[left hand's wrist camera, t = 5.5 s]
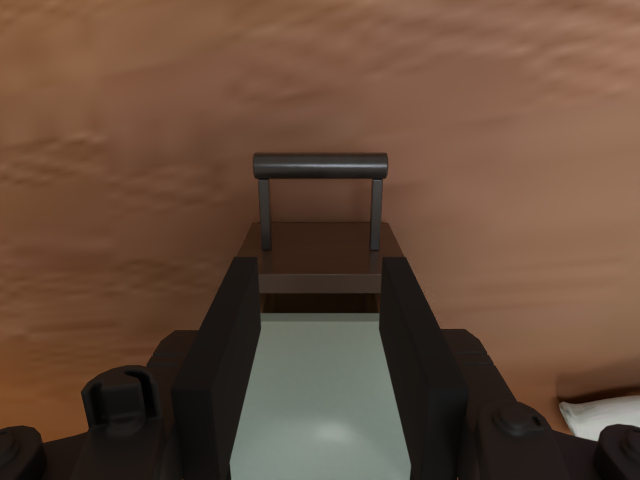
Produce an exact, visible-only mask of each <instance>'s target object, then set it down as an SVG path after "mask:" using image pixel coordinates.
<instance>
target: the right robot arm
mask: <svg viewBox="0 0 640 480" xmlns="http://www.w3.org/2000/svg"><path fill="white" fill-rule="evenodd" d="M226 480H231V471H230V463H229V467H228V472H227V476H226ZM410 480H414V476H413V472H412V467H411V471H410Z"/></svg>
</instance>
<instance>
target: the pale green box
mask: <svg viewBox="0 0 640 480" xmlns="http://www.w3.org/2000/svg"><path fill="white" fill-rule="evenodd" d="M260 315H261V332H260V336H259V340H258V345H257V349H256V353H255V357H254V362H253V366H252V370H251V374H250V379H249V383H248V387H247V391H246V395H245V400H244V404H243V408H242V412H241V417H240V421H239V425H238V429H237V434H236V438H235V442H234V446H233V450H232V455H231V459H230V471H231V480H410V471H411V463H410V459H409V455H408V450H407V446H406V442H405V438H404V434H403V429H402V425H401V421H400V417H399V412H398V408H397V404H396V400H395V395H394V391H393V387H392V383H391V379H390V374H389V370H388V366H387V362H386V357H385V353H384V349H383V345H382V341H381V336H380V332H379V315H380V313H260Z"/></svg>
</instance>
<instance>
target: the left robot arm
mask: <svg viewBox="0 0 640 480" xmlns="http://www.w3.org/2000/svg"><path fill="white" fill-rule="evenodd" d="M260 332H261V315H260V296H259V277H258V259H257V257H234V259H233V261H232V263H231V265H230V267H229V269H228V271H227V273H226V275H225V277H224V279H223V282H222V284H221V286H220V288H219V290H218V292H217V294H216V296H215V298H214V300H213V302H212V304H211V306H210V308H209V310H208V312H207V315H206V317H205V319H204V321H203V323H202V325H201V327H200V329H199V330H175V331H174V332H172V333H171V334H170V335H168V336H167V337H166V338H164V339H163V340H162V341H161V342H160V344H159V345H158V347H157V348H156V350H155V352H154V353H153V356H152V357H151V358H150V360H149V362H148V363H147V367H144V366H141V365H127V366H122V367H118V368H113V369H111V370H108V371H106V372H104V373H101V374H99V375H98V376H96V377H95V378H94V379H92V380H91V381H89V382H88V383H87V384H86V386H85V387H84V388H83V390H82V391H81V395H82V399H83V404H84V408H85V412H86V417H87V421H88V425H89V430H88V432H85V433H82V434H79V435H75V436H72V437H67V438H63V439H59V440H54V441H50V442H46V443H43V442H42V438H41V435H40V433H39V432H38V431H37V430H36V429H35V428H32V427H27V426H14V427H7V428H4V429H1V430H0V480H182V479H183V480H226V476H227V472H228V467H229V463H230V459H231V455H232V450H233V446H234V442H235V438H236V434H237V429H238V425H239V421H240V417H241V412H242V408H243V404H244V400H245V395H246V391H247V387H248V383H249V379H250V374H251V370H252V366H253V362H254V357H255V353H256V349H257V345H258V340H259V336H260ZM379 332H380V336H381V341H382V345H383V349H384V353H385V357H386V362H387V366H388V370H389V374H390V379H391V383H392V387H393V391H394V395H395V400H396V404H397V408H398V412H399V417H400V421H401V425H402V429H403V434H404V438H405V442H406V446H407V450H408V455H409V459H410V463H411V467H412V472H413V476H414V480H457V477H458V480H640V427H636V426H633V425H625V424H614V425H609V426H606V427H605V428H604V429H603V430H602V431H601V432H600V435H599V438H598V441H594V440H589V439H585V438H581V437H576V436H572V435H568V434H564V433H561V432H557V431H554V430H552V429H551V427H550V425H549V424H548V422H547V421H546V419H545V418H544V417H543V416H542V415H541V414H540V413H538V412H537V411H536V410H535V409H533V408H531V407H529V406H527V405H525V404H523V403H521V402H517V400H516V399H515V397H514V396H513V394H512V392H511V391H510V389H509V387H508V386H507V384H506V383H505V381H504V379H503V378H502V376H501V374H500V373H499V371H498V369H497V368H496V366H494V365H493V361H492V360H491V358H490V356H489V355H487V352H486V350H485V348H484V347H483V345H482V343H481V342H480V340H479V339H478V338H476V337H475V336H474V335H472V334H471V333H470V332H468V331H467V330H466V329H440V327H439V325H438V323H437V321H436V319H435V317H434V315H433V313H432V310H431V308H430V306H429V304H428V302H427V300H426V298H425V296H424V294H423V292H422V290H421V288H420V286H419V284H418V282H417V280H416V277H415V275H414V273H413V271H412V269H411V267H410V265H409V263H408V261H407V259H406V257H383V258H382V277H381V296H380V315H379Z"/></svg>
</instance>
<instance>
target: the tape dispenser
mask: <svg viewBox="0 0 640 480" xmlns="http://www.w3.org/2000/svg"><path fill="white" fill-rule="evenodd" d="M559 408H560V410H561V412H562V415H563V417H564V419H565V421H566V423H567V425H568V427H569V428H570V430H571V432H572V434H573V435H574V436H576V437H581V438H585V439H589V440H594V441H598V438H599V435H600V432H601V431H602V430H603V429H604V428H605V427H606V426H609V425H614V424H625V425H633V426H636V427H640V395H636V396H625V397H617V398H610V399H603V400H598V401H593V402H587V403H582V404H570V403H566V402H561V403H560V404H559Z"/></svg>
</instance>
